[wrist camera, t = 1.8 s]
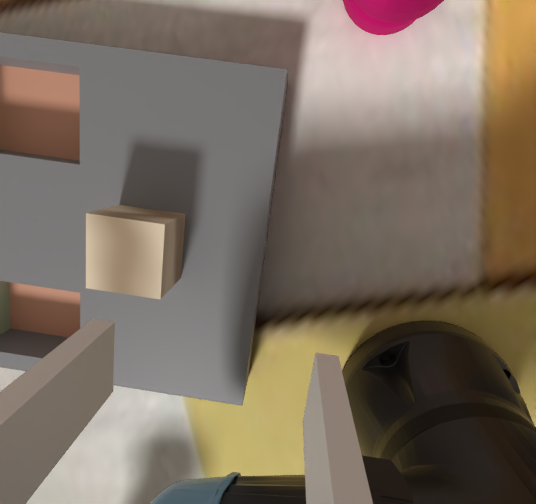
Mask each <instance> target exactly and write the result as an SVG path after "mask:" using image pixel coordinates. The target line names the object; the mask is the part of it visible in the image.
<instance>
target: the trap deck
mask: <svg viewBox="0 0 536 504" xmlns="http://www.w3.org/2000/svg"><path fill="white" fill-rule="evenodd" d="M287 85H288V76H287V69H282V68H274V67H266V66H258V65H251V64H243V63H235V62H227V61H220V60H212V59H204V58H196V57H189V56H181V55H173V54H165V53H158V52H150V51H142V50H134V49H127V48H119V47H111V46H103V45H96V44H88V43H80V42H72V41H65V40H57V39H49V38H41V37H34V36H26V35H18V34H10V33H3V32H0V367H3V368H9V369H15V370H22V371H27V370H28V369H30V368H31V367H32V366H34V365H35V364H36V363H37V362H39V361H40V360H41V359H42V358H44V357H45V356H46V355H47V354H49V353H50V352H51V351H53V350H54V349H55V348H56V347H58V346H59V345H60V344H61V343H63V342H64V341H65V340H66V339H68V338H69V337H70V336H72V335H73V334H74V333H75V332H77V331H78V330H79V329H80V328H82V327H83V326H84V325H85V324H87V323H88V322H89V321H91V320H92V319H98V320H105V321H111V322H115V329H114V373H113V385H116V386H122V387H128V388H135V389H141V390H147V391H153V392H160V393H166V394H172V395H179V396H185V397H191V398H197V399H204V400H210V401H216V402H222V403H229V404H235V405H241V406H242V405H243V400H244V395H245V390H246V385H247V380H248V374H249V367H250V359H251V352H252V345H253V337H254V330H255V322H256V315H257V307H258V300H259V293H260V285H261V278H262V270H263V263H264V256H265V248H266V241H267V233H268V226H269V218H270V211H271V204H272V196H273V189H274V181H275V174H276V166H277V159H278V152H279V144H280V137H281V129H282V122H283V115H284V107H285V100H286V92H287ZM116 205H125V206H132V207H139V208H146V209H153V210H160V211H167V212H174V213H181V214H186V216H185V229H184V243H183V257H182V270H181V278H180V280H179V281H178V282H177V283H176V284H175V285H174V286H173V287H172V288H171V289H170V290H169V291H168V292H167V293H166V294H165V295H164V296H163V297H162V298H161V299H154V298H147V297H141V296H134V295H128V294H121V293H114V292H108V291H101V290H94V289H88V288H86V213H88V212H92V211H96V210H100V209H104V208H108V207H112V206H116Z"/></svg>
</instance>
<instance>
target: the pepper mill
mask: <svg viewBox="0 0 536 504" xmlns="http://www.w3.org/2000/svg"><path fill="white" fill-rule="evenodd" d="M443 1H444V0H343V2H344V5H345V9H346V11H347V13H348V15H349V17H350V18H351V19H352V20H353V22H354V23H355V24H356V25H357V26H358V27H360V28H361V29H362V30H364V31H366V32H368V33H372V34H376V35H388V34H393V33H396V32H398V31H401V30H403V29H405V28H406V27H408V26H409V25H411V24H412V23H413V22H414V21H415V20H416V19H417V18H420V17H422V16H424V15H425V14H427V13H429V12H430V11H432V10H433V9H435V8H436V7H437V6H438V5H439V4H440V3H441V2H443Z"/></svg>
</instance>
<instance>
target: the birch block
mask: <svg viewBox="0 0 536 504" xmlns="http://www.w3.org/2000/svg"><path fill="white" fill-rule="evenodd" d="M185 216H186V214H181V213H174V212H167V211H160V210H153V209H146V208H139V207H132V206H125V205H116V206H112V207H108V208H104V209H100V210H96V211H92V212H88V213H86V288H88V289H94V290H101V291H108V292H114V293H121V294H128V295H134V296H141V297H147V298H154V299H161V298H162V297H163V296H164V295H165V294H166V293H167V292H168V291H169V290H170V289H171V288H172V287H173V286H174V285H175V284H176V283H177V282H178V281H179V280H180V278H181V270H182V257H183V243H184V229H185Z"/></svg>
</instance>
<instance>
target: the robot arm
mask: <svg viewBox="0 0 536 504" xmlns="http://www.w3.org/2000/svg"><path fill="white" fill-rule="evenodd" d="M114 329H115V322H111V321H105V320H98V319H92V320H91V321H89V322H88V323H87V324H85V325H84V326H83V327H82V328H80V329H79V330H78V331H77V332H75V333H74V334H73V335H72V336H70V337H69V338H68V339H66V340H65V341H64V342H63V343H61V344H60V345H59V346H58V347H56V348H55V349H54V350H53V351H51V352H50V353H49V354H47V355H46V356H45V357H44V358H42V359H41V360H40V361H39V362H37V363H36V364H35V365H34V366H32V367H31V368H30V369H28V370H27V371H26V372H25V373H23V374H22V375H21V376H20V377H18V378H17V379H16V380H15V381H13V382H12V383H11V384H9V385H8V386H7V387H6V388H4V389H3V390H2V391H1V392H0V504H26V502H27V501H28V500H29V499H30V497H31V496H32V495H33V493H34V492H35V491H36V490H37V488H38V487H39V486H40V484H41V483H42V482H43V481H44V479H45V478H46V477H47V475H48V474H49V473H50V472H51V470H52V469H53V468H54V466H55V465H56V464H57V463H58V461H59V460H60V459H61V457H62V456H63V455H64V454H65V452H66V451H67V450H68V448H69V447H70V446H71V445H72V443H73V442H74V441H75V439H76V438H77V437H78V436H79V434H80V433H81V432H82V431H83V429H84V428H85V427H86V425H87V424H88V423H89V422H90V420H91V419H92V418H93V416H94V415H95V414H96V413H97V411H98V410H99V409H100V407H101V406H102V405H103V404H104V402H105V401H106V400H107V398H108V397H109V396H110V395H111V393H112V392H113V373H114ZM303 437H304V462H305V475H282V476H241V475H240V473H237V472H233V473H231V474H229V475H227V476H226V477H215V478H203V479H190V480H183V481H179V482H176V483H174V484H172V485H170V486H168V487H167V488H165V489H164V490H163V491H162V492H160V493H159V494H158V495H157V496H156V497H155V498H154V499H153V500H152V501H151V503H150V504H536V427H535V426H534V424H533V421H532V419H531V416H530V414H529V411H528V409H527V407H526V404H525V402H524V400H523V398H522V396H521V394H520V390H519V387H518V385H517V382H516V380H515V378H514V375H513V374H512V372H511V370H510V369H509V367H508V366H507V364H506V363H505V362H504V360H503V359H502V358H501V357H500V356H499V355H498V354H497V353H496V352H495V351H494V350H493V349H492V348H491V347H490V346H489V345H487V344H486V343H485V342H484V341H483V340H482V339H481V338H479V337H478V336H476V335H475V334H473V333H472V332H470V331H468V330H466V329H463V328H461V327H458V326H455V325H452V324H448V323H443V322H436V321H418V322H410V323H405V324H400V325H397V326H394V327H391V328H389V329H386V330H384V331H382V332H380V333H378V334H376V335H375V336H373V337H372V338H370V339H369V340H367V341H366V342H365V343H364V344H363V345H361V346H360V347H359V348H358V349H357V350H356V351H355V353H354V354H353V355H352V356H351V358H350V359H349V361H348V362H347V364H346V366H345V367H344V370H343V372H342V370H341V365H340V361H339V357H338V356H334V355H327V354H321V353H315V359H314V364H313V370H312V375H311V380H310V386H309V391H308V397H307V402H306V407H305V413H304V418H303Z"/></svg>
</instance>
